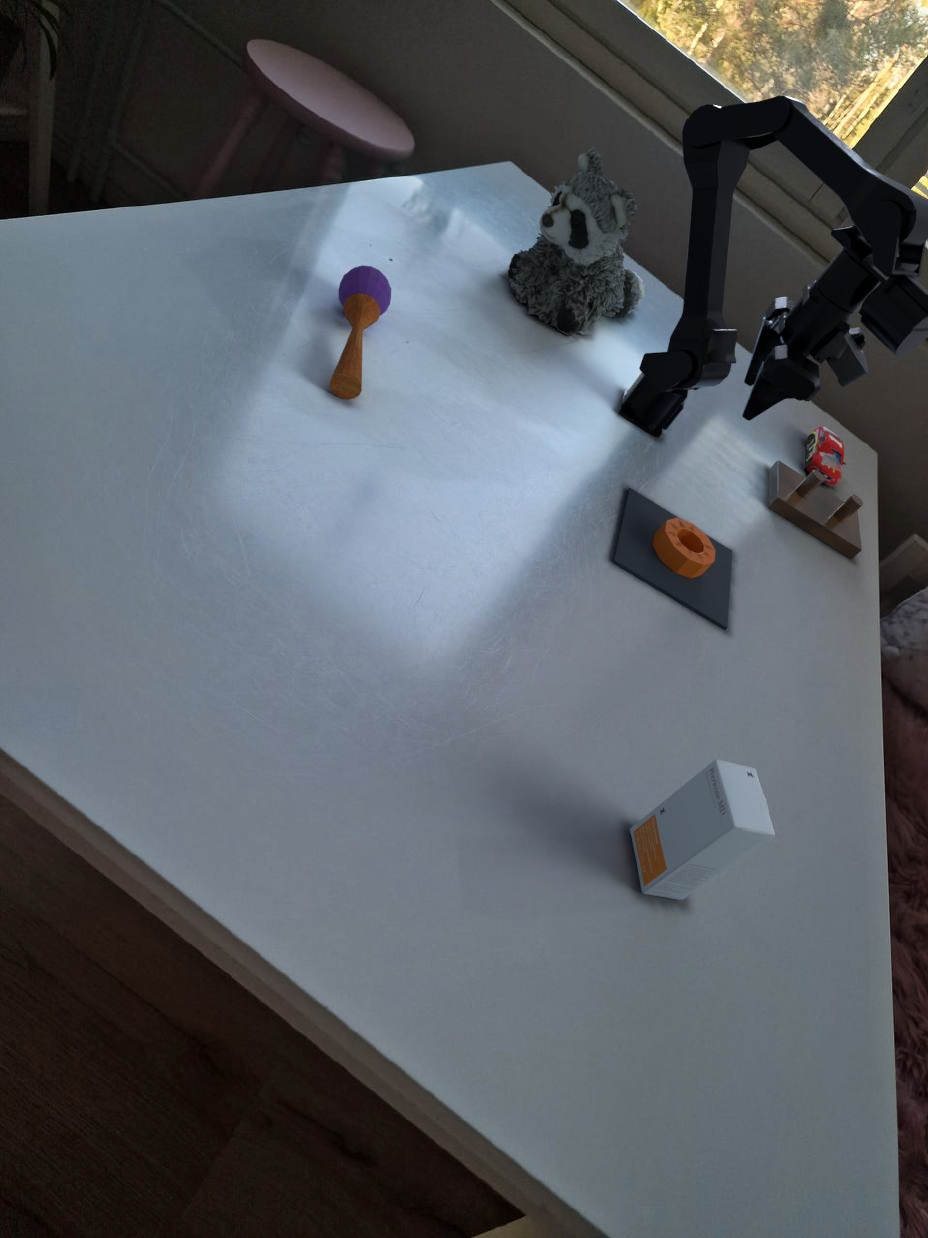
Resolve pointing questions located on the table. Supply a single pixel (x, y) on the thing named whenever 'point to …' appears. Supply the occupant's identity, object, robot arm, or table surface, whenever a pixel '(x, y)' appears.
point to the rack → (815, 508)
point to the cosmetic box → (701, 830)
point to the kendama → (358, 324)
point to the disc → (684, 548)
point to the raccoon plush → (580, 254)
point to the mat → (642, 561)
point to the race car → (825, 455)
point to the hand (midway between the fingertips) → (746, 400)
